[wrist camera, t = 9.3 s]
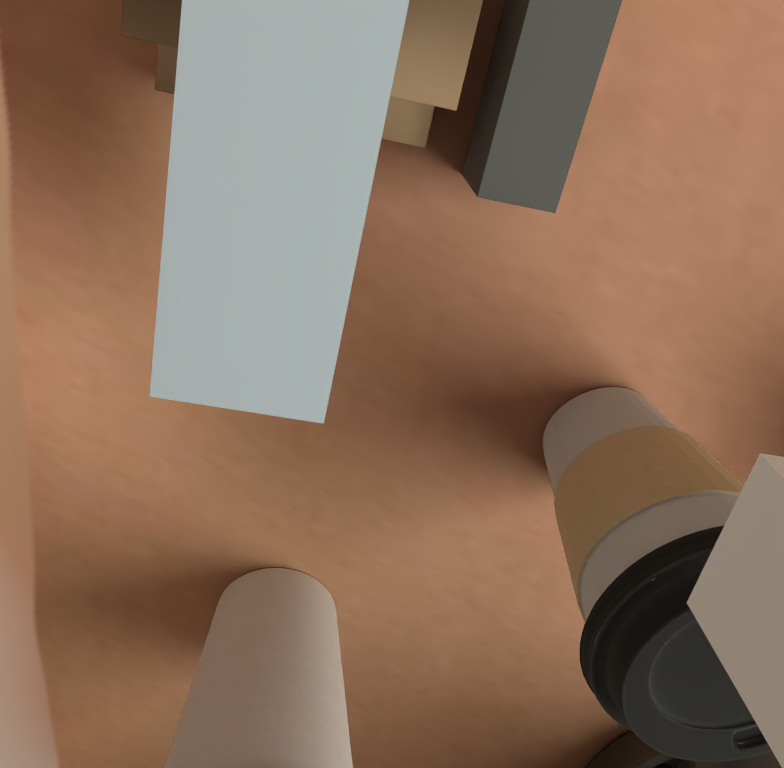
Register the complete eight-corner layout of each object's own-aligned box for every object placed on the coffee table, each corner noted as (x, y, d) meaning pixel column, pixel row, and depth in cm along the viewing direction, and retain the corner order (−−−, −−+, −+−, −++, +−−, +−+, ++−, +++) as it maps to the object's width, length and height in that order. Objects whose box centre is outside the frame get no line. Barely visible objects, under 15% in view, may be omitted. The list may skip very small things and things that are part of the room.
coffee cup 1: (377, 554, 40) (395, 834, 26) (349, 681, 44) (353, 979, 31) (193, 535, 38) (115, 820, 25) (183, 668, 43) (111, 972, 29)
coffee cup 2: (597, 542, 40) (724, 811, 27) (466, 453, 37) (536, 708, 24) (733, 419, 37) (952, 654, 24) (602, 311, 34) (769, 513, 21)
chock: (530, 188, 31) (555, 213, 28) (461, 174, 31) (477, 196, 27) (612, -87, 27) (653, -100, 23) (533, -108, 26) (563, -125, 23)
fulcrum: (420, 139, 30) (440, 175, 24) (166, 84, 29) (117, 107, 22) (471, -90, 27) (511, -117, 20) (185, -167, 25) (134, -221, 19)
